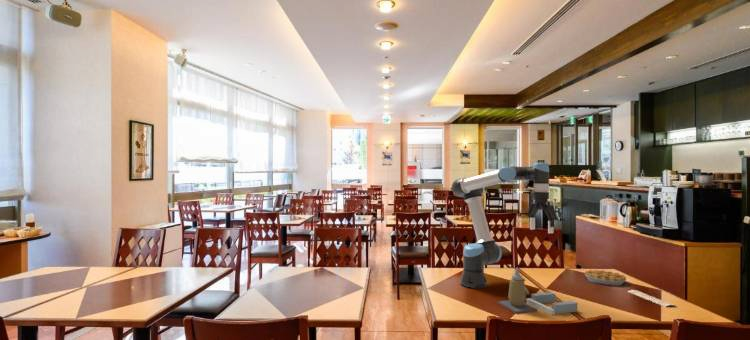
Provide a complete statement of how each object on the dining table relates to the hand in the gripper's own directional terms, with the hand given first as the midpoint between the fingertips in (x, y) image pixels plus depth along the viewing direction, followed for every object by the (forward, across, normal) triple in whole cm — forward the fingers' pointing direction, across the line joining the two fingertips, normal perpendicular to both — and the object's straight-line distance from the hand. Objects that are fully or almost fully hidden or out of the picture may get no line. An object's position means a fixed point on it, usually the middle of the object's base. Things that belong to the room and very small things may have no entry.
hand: (541, 231), depth 194 cm
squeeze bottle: (+34, -10, +23) cm, 42 cm away
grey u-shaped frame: (+35, -14, +7) cm, 38 cm away
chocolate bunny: (+35, +6, +8) cm, 36 cm away
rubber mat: (+35, -10, +23) cm, 43 cm away
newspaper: (+36, -18, -54) cm, 67 cm away
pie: (+35, +14, -59) cm, 70 cm away
